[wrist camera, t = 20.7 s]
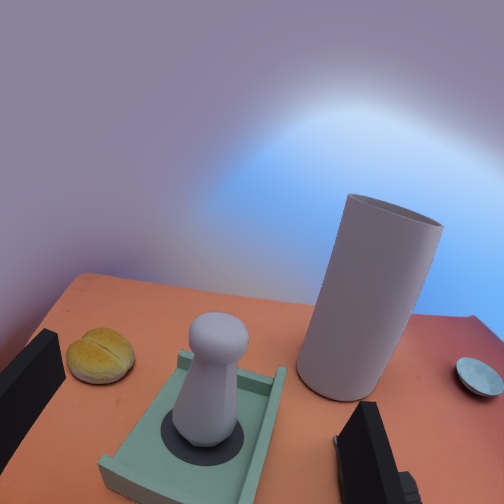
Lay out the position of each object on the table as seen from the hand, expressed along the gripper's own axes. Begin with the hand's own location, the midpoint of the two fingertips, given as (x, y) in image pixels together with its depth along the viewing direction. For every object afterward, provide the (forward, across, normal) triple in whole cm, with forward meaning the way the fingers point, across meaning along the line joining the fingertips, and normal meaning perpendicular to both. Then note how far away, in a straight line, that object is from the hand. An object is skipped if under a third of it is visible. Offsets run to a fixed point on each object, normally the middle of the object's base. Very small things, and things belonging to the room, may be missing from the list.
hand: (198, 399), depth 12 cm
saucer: (+25, +46, -18) cm, 56 cm away
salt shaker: (+10, 0, -16) cm, 18 cm away
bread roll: (+18, -15, -19) cm, 30 cm away
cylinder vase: (+26, +17, -19) cm, 36 cm away
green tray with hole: (+10, 0, -18) cm, 21 cm away
